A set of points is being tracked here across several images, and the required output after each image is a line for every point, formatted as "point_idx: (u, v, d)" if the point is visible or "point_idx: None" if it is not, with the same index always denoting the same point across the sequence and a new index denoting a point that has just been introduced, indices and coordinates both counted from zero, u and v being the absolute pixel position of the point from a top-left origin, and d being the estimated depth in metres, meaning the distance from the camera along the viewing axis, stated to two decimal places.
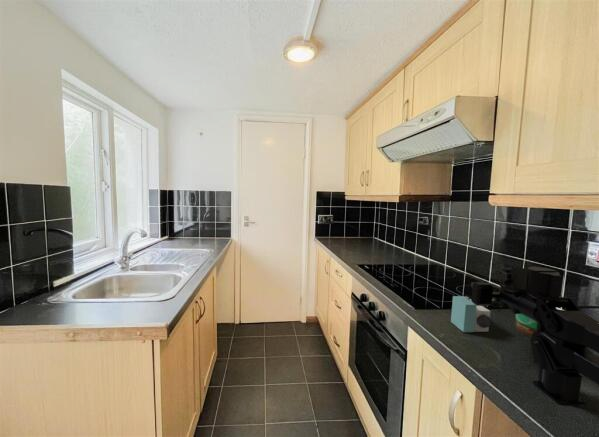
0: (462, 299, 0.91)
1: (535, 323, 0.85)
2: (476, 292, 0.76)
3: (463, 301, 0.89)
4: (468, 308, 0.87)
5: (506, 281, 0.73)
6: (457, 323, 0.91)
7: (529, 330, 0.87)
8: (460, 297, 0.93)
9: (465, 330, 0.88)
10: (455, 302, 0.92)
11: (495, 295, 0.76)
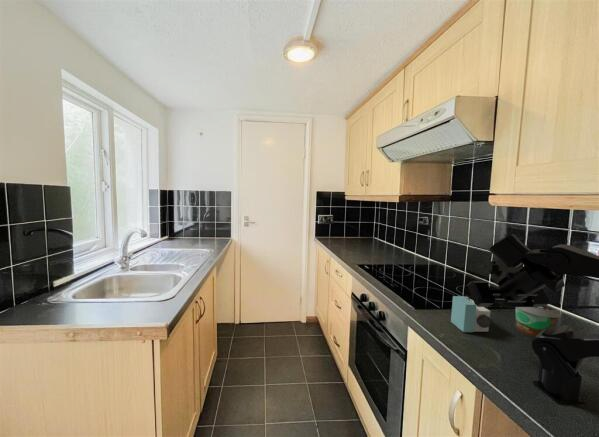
0: (462, 299, 0.91)
1: (535, 323, 0.85)
2: (473, 288, 0.72)
3: (463, 301, 0.89)
4: (468, 308, 0.87)
5: (493, 269, 0.73)
6: (457, 323, 0.91)
7: (529, 330, 0.87)
8: (460, 297, 0.93)
9: (465, 330, 0.88)
10: (455, 302, 0.92)
11: (494, 291, 0.72)
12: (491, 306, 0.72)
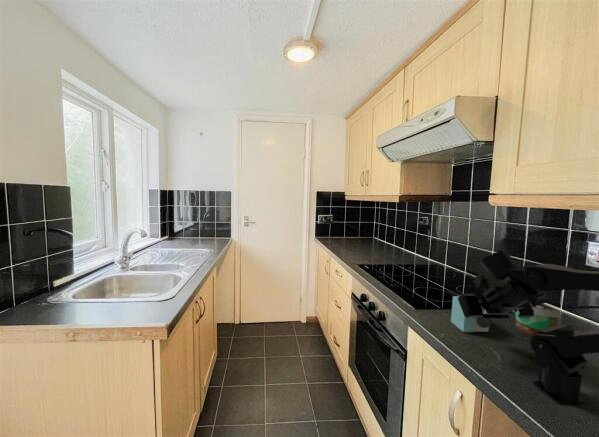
0: None
1: (535, 323, 0.85)
2: (462, 301, 0.76)
3: None
4: None
5: (482, 282, 0.77)
6: (457, 323, 0.91)
7: (529, 330, 0.87)
8: None
9: (465, 330, 0.88)
10: (455, 302, 0.92)
11: (482, 303, 0.76)
12: None
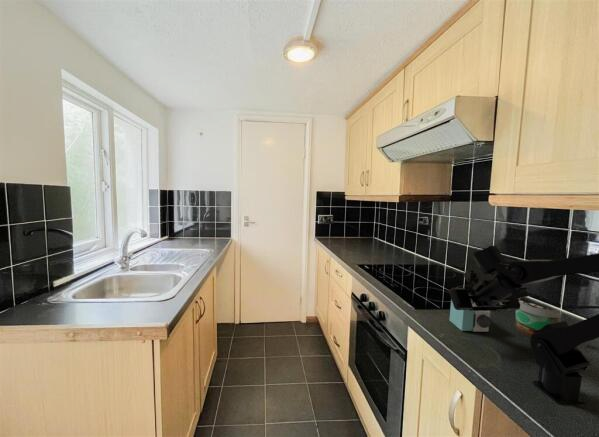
0: None
1: (535, 323, 0.85)
2: (453, 295, 0.81)
3: None
4: None
5: (471, 277, 0.81)
6: (456, 322, 0.92)
7: (529, 330, 0.87)
8: None
9: (463, 329, 0.89)
10: None
11: (472, 297, 0.80)
12: (480, 310, 0.80)
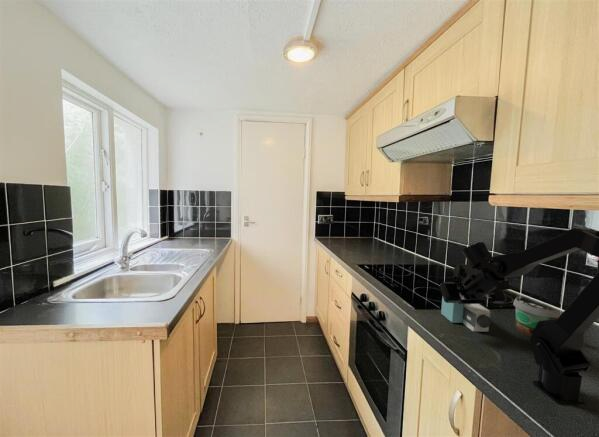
0: None
1: (535, 323, 0.85)
2: (443, 288, 0.86)
3: None
4: None
5: (460, 272, 0.87)
6: (446, 314, 0.97)
7: (529, 330, 0.87)
8: None
9: (454, 321, 0.94)
10: None
11: (461, 290, 0.86)
12: (469, 303, 0.86)
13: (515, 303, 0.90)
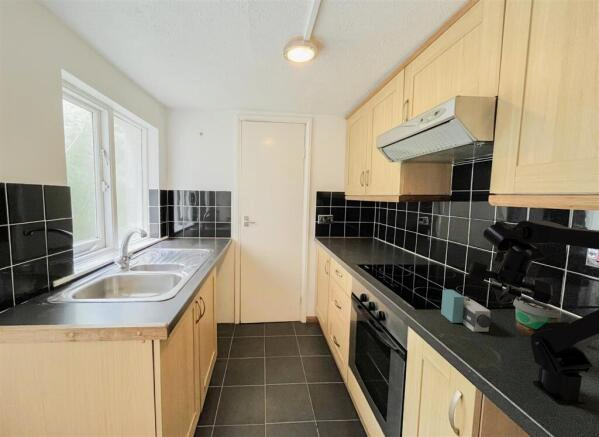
0: (451, 292, 0.97)
1: (535, 323, 0.85)
2: (471, 266, 0.82)
3: (452, 294, 0.96)
4: (456, 300, 0.93)
5: (498, 255, 0.80)
6: (446, 314, 0.97)
7: (529, 330, 0.87)
8: (449, 290, 0.99)
9: (454, 321, 0.94)
10: (444, 295, 0.99)
11: (491, 272, 0.78)
12: (499, 290, 0.76)
13: (515, 303, 0.90)
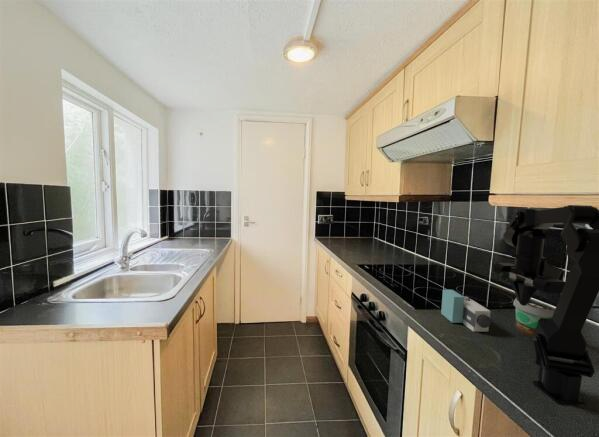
0: (451, 292, 0.97)
1: (535, 323, 0.85)
2: None
3: (452, 294, 0.96)
4: (456, 300, 0.93)
5: None
6: (446, 314, 0.97)
7: (529, 330, 0.87)
8: (449, 290, 0.99)
9: (454, 321, 0.94)
10: (444, 295, 0.99)
11: None
12: (511, 280, 0.79)
13: (515, 303, 0.90)
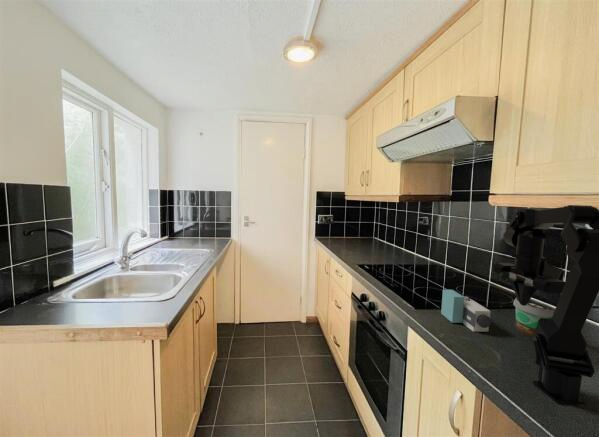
0: (451, 292, 0.97)
1: (535, 323, 0.85)
2: None
3: (452, 294, 0.96)
4: (456, 300, 0.93)
5: None
6: (446, 314, 0.97)
7: (529, 330, 0.87)
8: (449, 290, 0.99)
9: (454, 321, 0.94)
10: (444, 295, 0.99)
11: None
12: (511, 280, 0.79)
13: (515, 303, 0.90)
